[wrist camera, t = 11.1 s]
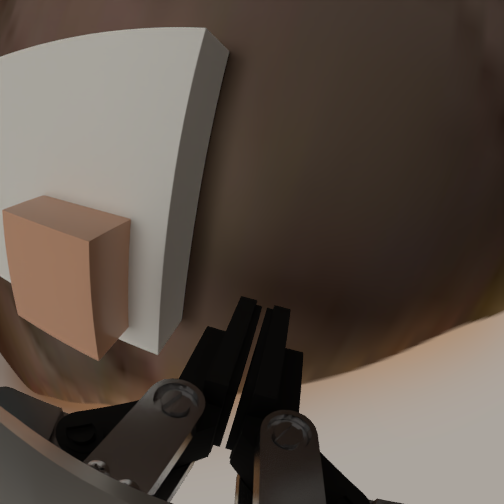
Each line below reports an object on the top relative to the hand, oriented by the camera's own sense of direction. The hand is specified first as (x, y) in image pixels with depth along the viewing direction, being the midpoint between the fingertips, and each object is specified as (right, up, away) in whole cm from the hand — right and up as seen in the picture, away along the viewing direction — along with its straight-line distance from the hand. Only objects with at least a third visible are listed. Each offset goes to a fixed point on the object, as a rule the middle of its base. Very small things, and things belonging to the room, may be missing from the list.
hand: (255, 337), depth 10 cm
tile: (-7, +2, +1) cm, 8 cm away
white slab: (-11, +8, +3) cm, 14 cm away
